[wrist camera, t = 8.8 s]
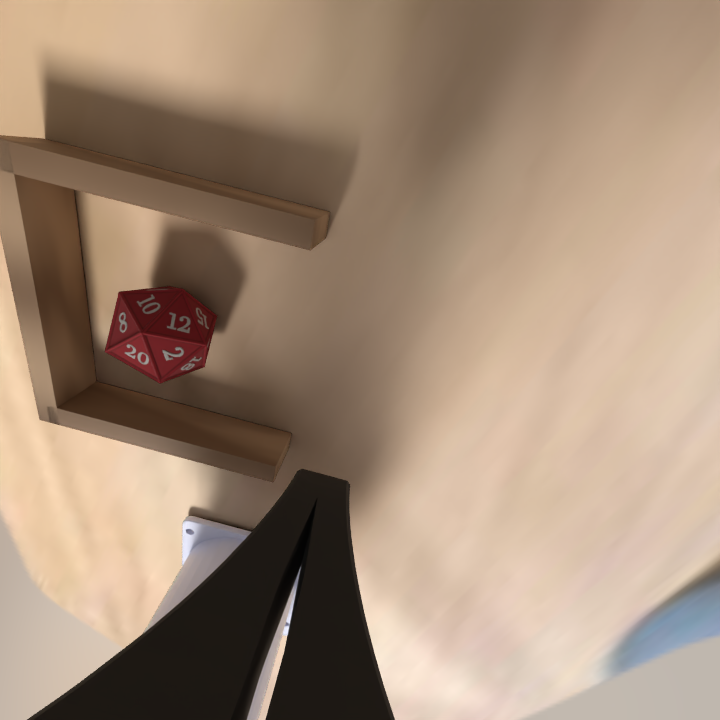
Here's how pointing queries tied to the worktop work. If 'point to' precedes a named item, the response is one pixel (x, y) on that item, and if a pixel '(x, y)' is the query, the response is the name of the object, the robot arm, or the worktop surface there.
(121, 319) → the dice
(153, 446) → the tray frame
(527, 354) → the worktop surface
